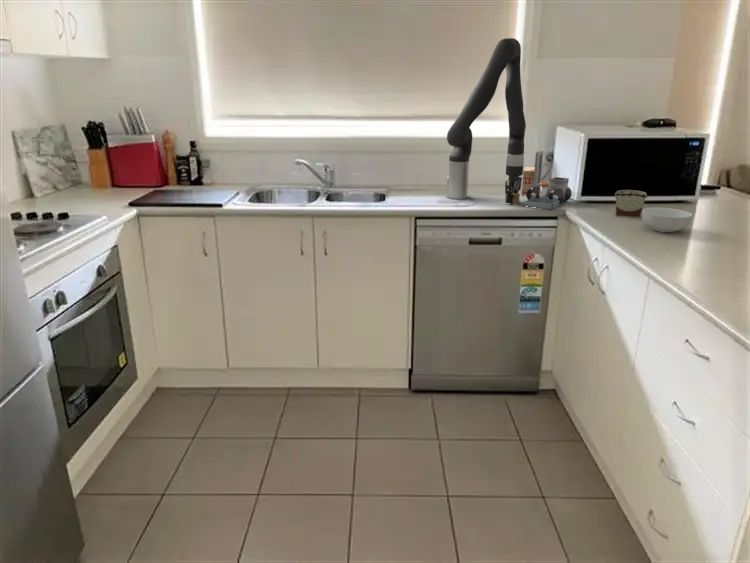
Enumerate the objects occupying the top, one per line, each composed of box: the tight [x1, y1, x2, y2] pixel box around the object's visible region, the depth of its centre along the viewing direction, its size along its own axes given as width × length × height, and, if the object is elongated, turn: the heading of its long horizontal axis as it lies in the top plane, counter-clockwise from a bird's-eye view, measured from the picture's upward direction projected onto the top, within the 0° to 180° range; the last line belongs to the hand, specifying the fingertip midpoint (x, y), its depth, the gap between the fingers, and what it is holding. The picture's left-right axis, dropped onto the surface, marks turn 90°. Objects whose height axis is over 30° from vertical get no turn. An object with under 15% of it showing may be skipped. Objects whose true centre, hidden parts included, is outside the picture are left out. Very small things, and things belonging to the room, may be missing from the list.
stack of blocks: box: [521, 166, 538, 196], centre depth 286 cm, size 21×6×12 cm, turn 163°
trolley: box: [525, 150, 573, 206], centre depth 261 cm, size 17×12×22 cm
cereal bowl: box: [641, 206, 693, 233], centre depth 215 cm, size 17×17×7 cm
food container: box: [613, 189, 648, 218], centre depth 238 cm, size 12×6×10 cm, turn 71°
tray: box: [524, 198, 561, 211], centre depth 255 cm, size 12×9×3 cm
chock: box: [505, 192, 521, 205], centre depth 263 cm, size 5×4×4 cm
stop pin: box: [539, 182, 549, 203], centre depth 254 cm, size 4×4×10 cm
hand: (512, 201), depth 263 cm, fingers open, 5 cm apart
